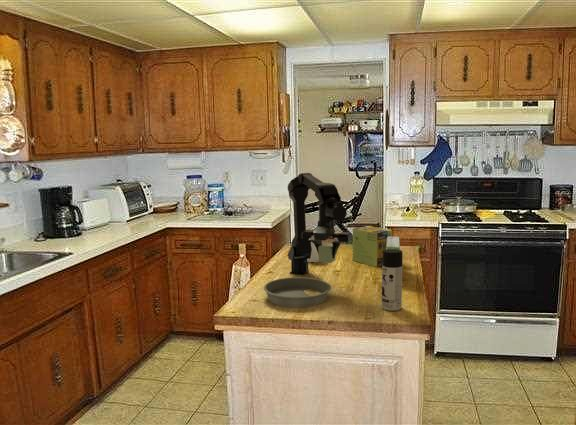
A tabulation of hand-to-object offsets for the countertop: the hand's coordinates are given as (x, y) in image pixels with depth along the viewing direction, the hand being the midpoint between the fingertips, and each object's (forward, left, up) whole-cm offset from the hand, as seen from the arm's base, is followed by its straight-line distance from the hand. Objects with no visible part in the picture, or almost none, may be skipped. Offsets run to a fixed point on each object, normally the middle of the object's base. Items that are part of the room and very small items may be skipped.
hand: (326, 257), depth 194 cm
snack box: (+18, +26, -12) cm, 34 cm away
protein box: (+3, +46, -12) cm, 48 cm away
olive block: (0, 0, -1) cm, 1 cm away
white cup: (-23, +37, -12) cm, 45 cm away
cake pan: (-6, -14, -13) cm, 20 cm away
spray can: (+28, -12, -12) cm, 33 cm away
